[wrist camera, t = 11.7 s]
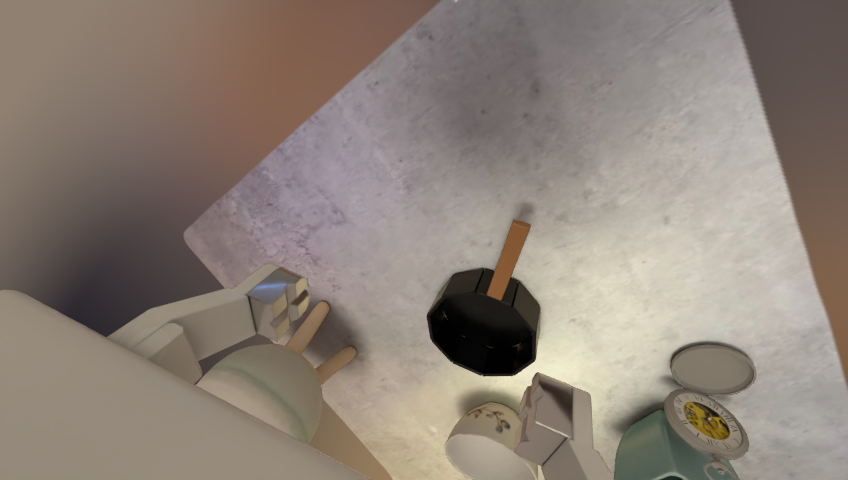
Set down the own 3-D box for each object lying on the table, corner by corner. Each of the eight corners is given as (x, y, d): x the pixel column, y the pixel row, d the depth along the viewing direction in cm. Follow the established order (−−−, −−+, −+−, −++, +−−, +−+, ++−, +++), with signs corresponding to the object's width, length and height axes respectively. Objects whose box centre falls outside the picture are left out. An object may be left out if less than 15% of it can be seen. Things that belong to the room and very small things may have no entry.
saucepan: (465, 185, 35) (452, 203, 31) (594, 225, 32) (597, 249, 28) (431, 324, 47) (419, 348, 43) (522, 362, 44) (517, 391, 40)
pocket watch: (745, 337, 32) (802, 438, 24) (760, 399, 34) (816, 510, 26) (645, 345, 36) (664, 433, 28) (665, 400, 38) (688, 495, 30)
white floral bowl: (459, 375, 50) (442, 425, 43) (548, 401, 45) (543, 460, 39) (460, 434, 57) (445, 483, 51) (536, 460, 53) (530, 518, 47)
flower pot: (605, 421, 43) (610, 497, 36) (655, 390, 38) (673, 471, 31) (669, 459, 42) (687, 544, 35) (730, 432, 37) (766, 526, 30)
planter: (380, 370, 57) (289, 521, 39) (307, 354, 63) (201, 478, 46) (354, 294, 50) (229, 437, 32) (275, 285, 56) (134, 400, 38)
